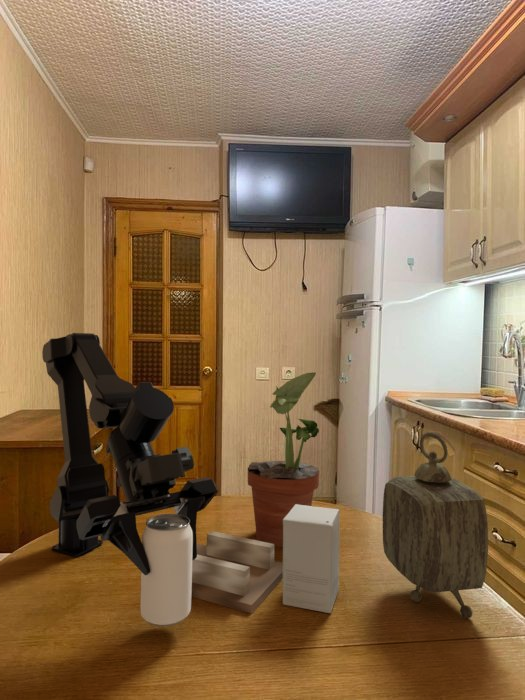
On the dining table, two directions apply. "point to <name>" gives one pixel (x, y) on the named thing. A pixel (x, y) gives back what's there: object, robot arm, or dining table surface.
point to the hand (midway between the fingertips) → (171, 566)
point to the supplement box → (311, 557)
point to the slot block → (235, 571)
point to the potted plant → (283, 470)
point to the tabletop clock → (436, 529)
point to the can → (167, 569)
